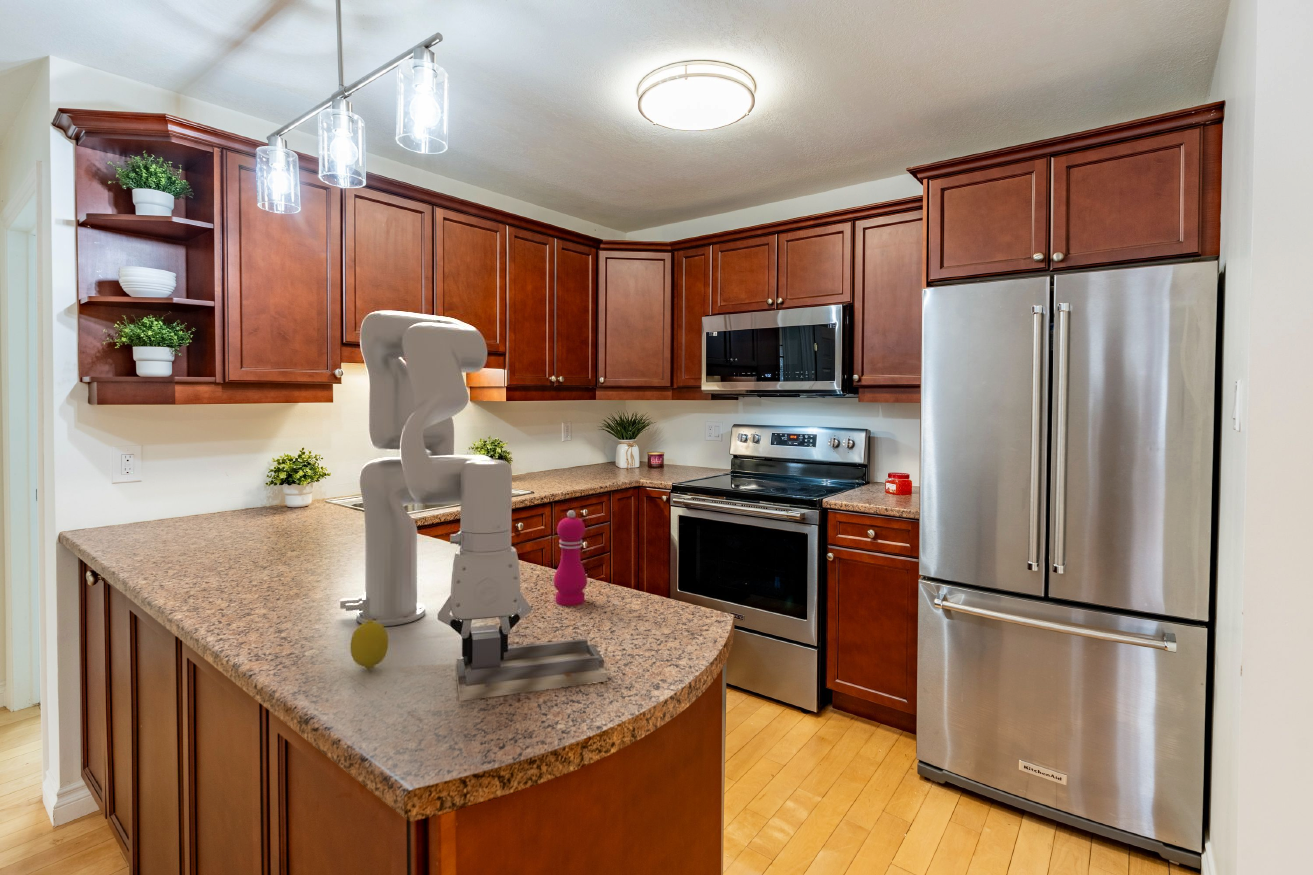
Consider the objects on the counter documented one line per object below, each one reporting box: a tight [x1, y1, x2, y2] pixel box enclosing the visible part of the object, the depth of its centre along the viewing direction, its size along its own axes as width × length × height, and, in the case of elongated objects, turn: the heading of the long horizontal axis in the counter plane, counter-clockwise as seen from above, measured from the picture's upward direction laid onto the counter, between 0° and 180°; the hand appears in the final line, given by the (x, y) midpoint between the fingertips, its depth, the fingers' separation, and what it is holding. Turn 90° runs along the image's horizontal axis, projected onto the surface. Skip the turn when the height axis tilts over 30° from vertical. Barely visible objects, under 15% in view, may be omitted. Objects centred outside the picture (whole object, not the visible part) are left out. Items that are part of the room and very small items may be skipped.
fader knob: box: [470, 624, 501, 670], centre depth 99 cm, size 4×6×6 cm
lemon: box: [349, 620, 389, 671], centre depth 102 cm, size 6×6×8 cm
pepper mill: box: [553, 509, 588, 607], centre depth 139 cm, size 7×7×20 cm
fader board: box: [455, 638, 608, 702], centre depth 101 cm, size 22×11×4 cm, turn 110°
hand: (484, 657), depth 99 cm, fingers closed on fader knob, 4 cm apart
